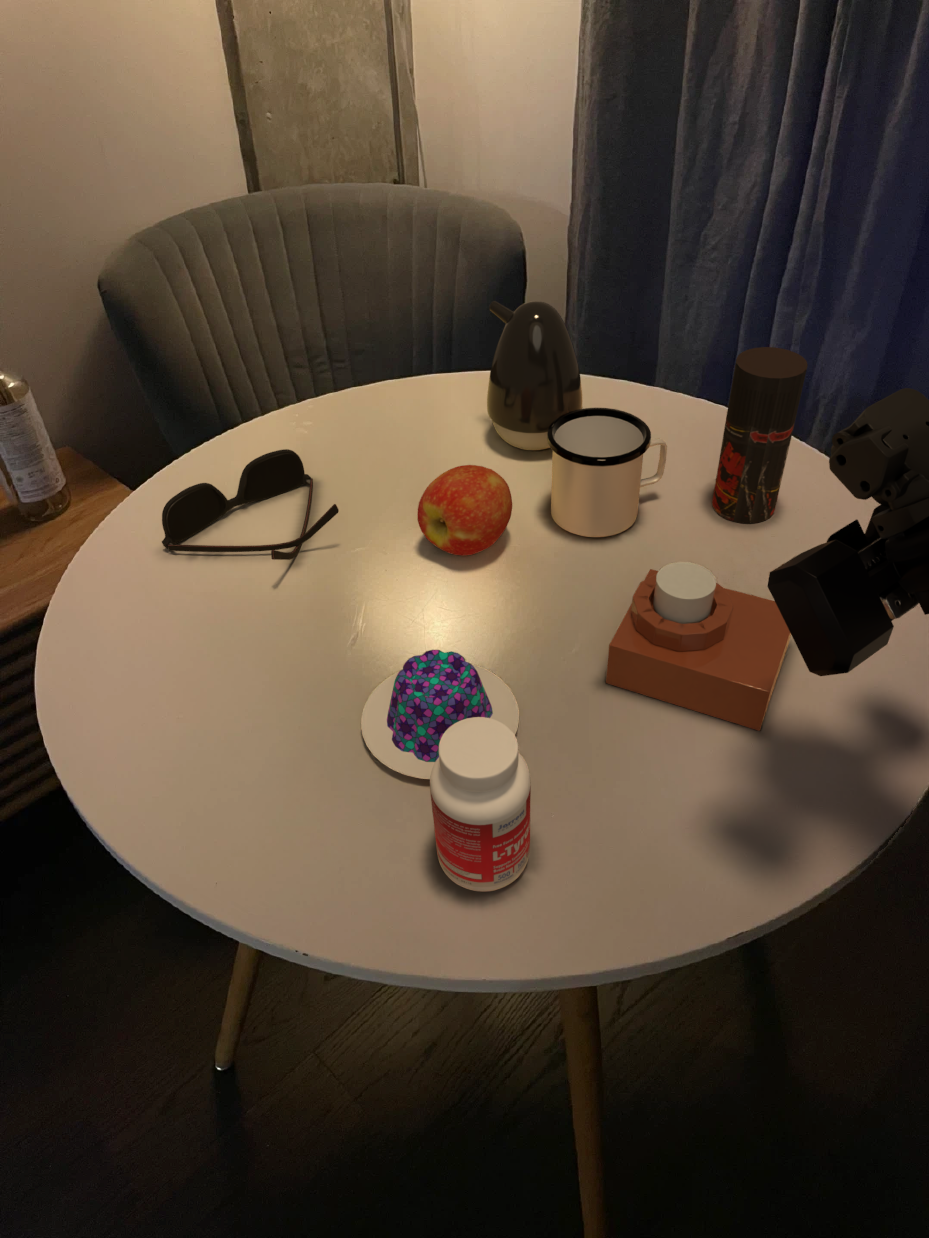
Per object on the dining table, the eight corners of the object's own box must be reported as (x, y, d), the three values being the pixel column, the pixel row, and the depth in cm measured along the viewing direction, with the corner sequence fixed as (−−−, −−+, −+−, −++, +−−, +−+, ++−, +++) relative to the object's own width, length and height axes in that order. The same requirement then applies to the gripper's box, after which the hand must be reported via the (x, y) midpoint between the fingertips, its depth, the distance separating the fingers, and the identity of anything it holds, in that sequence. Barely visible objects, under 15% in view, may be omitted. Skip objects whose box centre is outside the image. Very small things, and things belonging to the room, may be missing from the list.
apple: (408, 548, 84) (400, 477, 79) (467, 508, 88) (463, 438, 83) (471, 582, 80) (467, 509, 75) (529, 538, 84) (530, 466, 79)
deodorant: (781, 522, 84) (815, 377, 74) (718, 524, 85) (744, 379, 75) (767, 487, 89) (797, 346, 79) (706, 489, 89) (729, 348, 79)
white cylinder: (718, 595, 69) (722, 570, 67) (702, 631, 66) (707, 605, 64) (662, 581, 70) (666, 555, 69) (645, 615, 67) (648, 589, 66)
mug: (570, 552, 82) (574, 469, 76) (530, 499, 89) (530, 419, 83) (684, 522, 85) (696, 439, 79) (636, 473, 92) (644, 393, 86)
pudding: (483, 806, 62) (481, 758, 58) (333, 757, 66) (322, 710, 62) (541, 688, 70) (542, 640, 66) (404, 651, 74) (398, 604, 70)
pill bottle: (503, 910, 56) (499, 805, 48) (420, 870, 58) (405, 764, 51) (545, 836, 60) (549, 728, 52) (466, 801, 62) (458, 693, 55)
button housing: (788, 645, 72) (803, 589, 68) (759, 731, 66) (774, 674, 62) (645, 606, 76) (652, 551, 72) (605, 683, 70) (610, 627, 66)
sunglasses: (234, 615, 78) (221, 571, 75) (158, 544, 86) (143, 501, 83) (384, 534, 86) (379, 491, 83) (302, 476, 94) (294, 435, 91)
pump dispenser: (517, 406, 103) (516, 276, 93) (597, 429, 99) (605, 294, 88) (468, 446, 97) (461, 311, 87) (550, 472, 93) (554, 333, 82)
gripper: (1066, 315, 46) (837, 422, 61) (843, 437, 39) (640, 527, 53) (1155, 506, 47) (907, 567, 61) (953, 663, 39) (723, 692, 53)
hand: (800, 583), depth 57 cm, fingers closed
